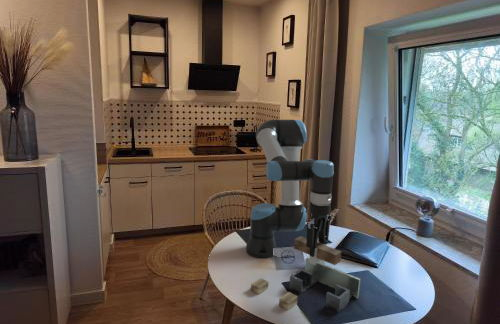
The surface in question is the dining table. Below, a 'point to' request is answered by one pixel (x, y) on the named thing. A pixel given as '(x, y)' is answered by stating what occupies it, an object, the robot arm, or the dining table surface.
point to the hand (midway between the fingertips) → (316, 261)
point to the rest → (284, 301)
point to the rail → (319, 251)
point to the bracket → (327, 283)
